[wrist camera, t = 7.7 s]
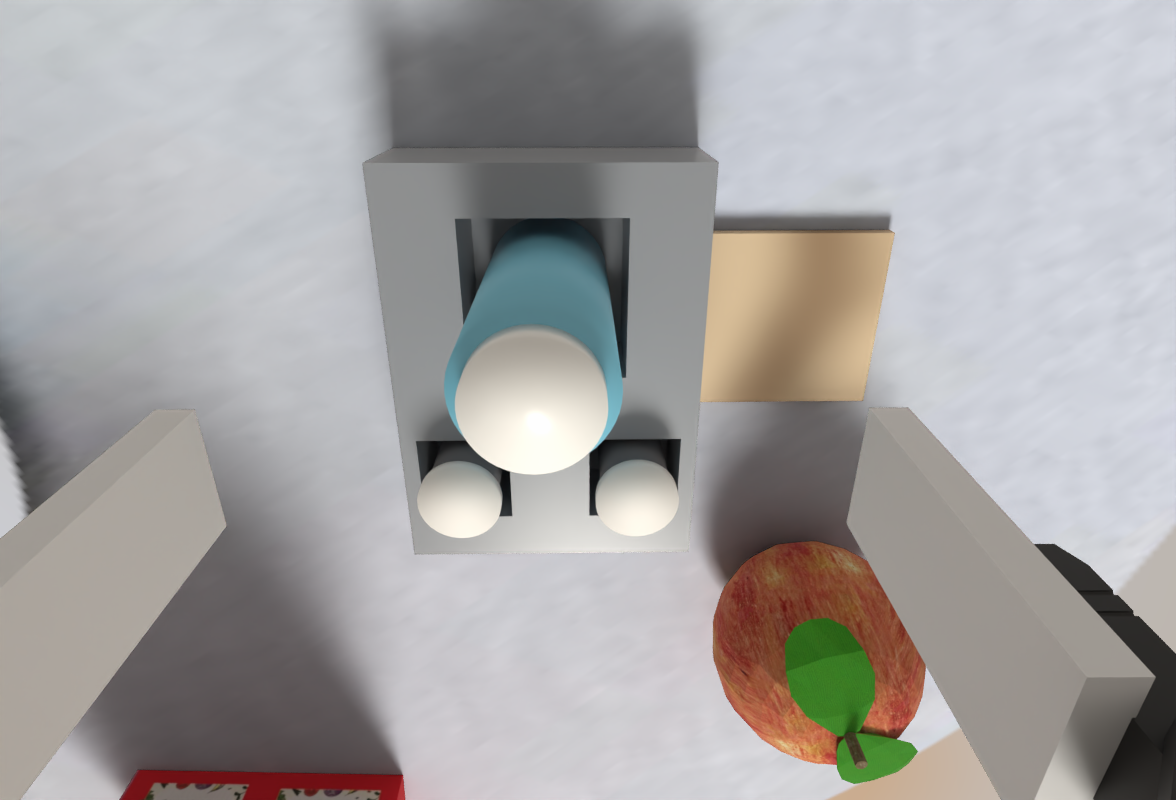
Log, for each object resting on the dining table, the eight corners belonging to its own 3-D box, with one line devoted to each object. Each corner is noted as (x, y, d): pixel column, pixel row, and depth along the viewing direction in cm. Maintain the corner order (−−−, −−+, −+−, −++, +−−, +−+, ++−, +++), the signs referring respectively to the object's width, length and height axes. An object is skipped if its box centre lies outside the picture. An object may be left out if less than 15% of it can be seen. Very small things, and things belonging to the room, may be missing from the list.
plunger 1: (440, 479, 30) (421, 538, 26) (433, 416, 28) (412, 468, 25) (511, 479, 30) (503, 537, 26) (508, 415, 28) (498, 467, 25)
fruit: (727, 668, 37) (777, 866, 28) (671, 529, 33) (707, 707, 24) (892, 621, 36) (999, 812, 27) (853, 471, 32) (963, 635, 23)
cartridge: (494, 328, 28) (446, 489, 18) (487, 215, 26) (428, 321, 16) (605, 327, 28) (623, 487, 18) (607, 215, 26) (627, 319, 16)
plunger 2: (592, 478, 30) (595, 536, 26) (593, 414, 28) (595, 467, 25) (664, 477, 30) (676, 535, 26) (667, 414, 28) (681, 466, 25)
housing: (432, 498, 32) (414, 554, 28) (392, 148, 25) (362, 163, 22) (675, 496, 32) (688, 551, 28) (698, 147, 25) (718, 162, 22)
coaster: (694, 396, 30) (695, 401, 29) (706, 230, 27) (708, 233, 26) (858, 395, 30) (863, 400, 30) (889, 229, 27) (894, 232, 26)
